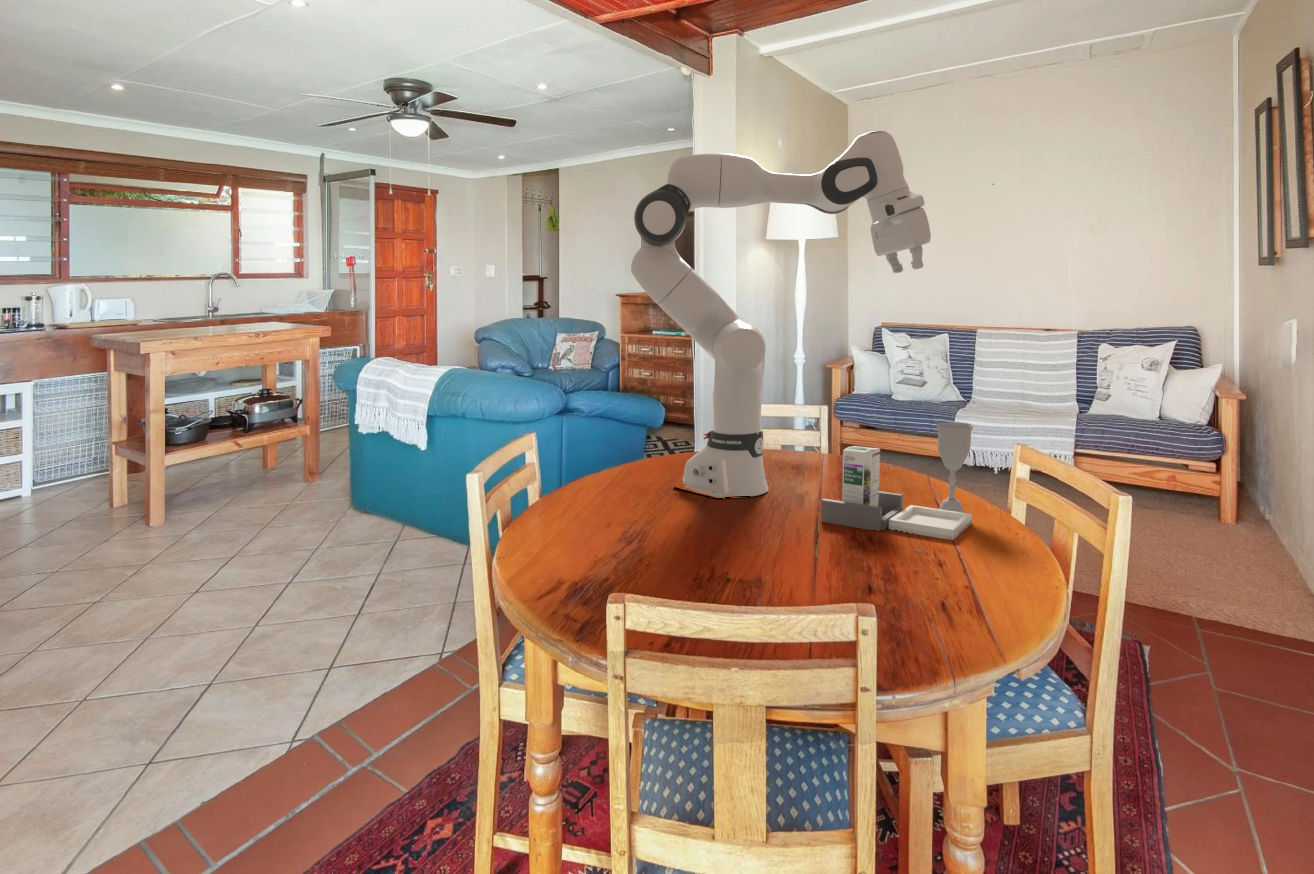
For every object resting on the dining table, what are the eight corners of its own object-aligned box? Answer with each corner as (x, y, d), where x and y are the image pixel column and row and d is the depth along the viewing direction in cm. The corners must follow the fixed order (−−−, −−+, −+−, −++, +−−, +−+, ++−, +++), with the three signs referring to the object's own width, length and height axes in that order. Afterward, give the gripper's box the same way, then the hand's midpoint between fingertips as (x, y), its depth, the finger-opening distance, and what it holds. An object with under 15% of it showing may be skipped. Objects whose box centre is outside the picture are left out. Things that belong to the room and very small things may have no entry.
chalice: (961, 505, 161) (965, 421, 158) (975, 514, 154) (980, 427, 151) (927, 507, 161) (930, 423, 158) (940, 516, 154) (944, 428, 151)
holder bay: (821, 521, 153) (821, 499, 152) (846, 507, 162) (847, 486, 162) (881, 532, 145) (882, 509, 144) (904, 516, 155) (905, 494, 154)
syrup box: (840, 519, 154) (841, 449, 151) (852, 512, 158) (854, 444, 156) (867, 524, 150) (869, 452, 148) (879, 517, 155) (881, 447, 152)
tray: (888, 529, 147) (888, 519, 146) (910, 514, 156) (910, 504, 156) (952, 540, 140) (953, 529, 139) (971, 523, 149) (971, 513, 148)
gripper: (858, 220, 173) (875, 279, 176) (898, 204, 153) (916, 271, 156) (884, 211, 174) (900, 270, 176) (927, 194, 154) (944, 261, 156)
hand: (908, 270), depth 166 cm, fingers open, 8 cm apart
